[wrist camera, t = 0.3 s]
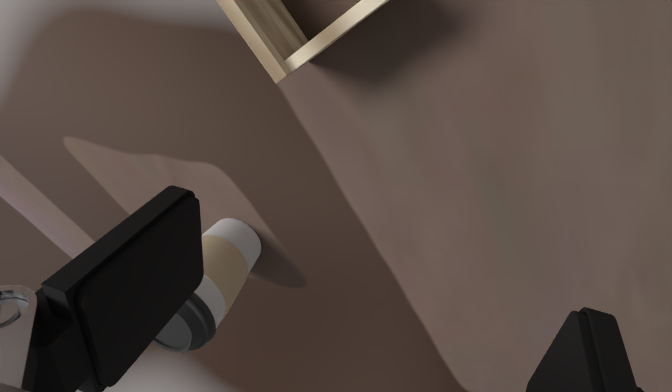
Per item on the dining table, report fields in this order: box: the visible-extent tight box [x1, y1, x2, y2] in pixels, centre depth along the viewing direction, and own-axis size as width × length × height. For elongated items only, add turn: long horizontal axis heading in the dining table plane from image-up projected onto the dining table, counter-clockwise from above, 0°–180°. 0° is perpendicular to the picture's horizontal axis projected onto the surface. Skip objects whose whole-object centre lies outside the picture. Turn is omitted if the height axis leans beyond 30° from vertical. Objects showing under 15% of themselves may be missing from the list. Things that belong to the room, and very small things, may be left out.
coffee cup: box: [152, 218, 261, 353], centre depth 48 cm, size 9×9×15 cm
